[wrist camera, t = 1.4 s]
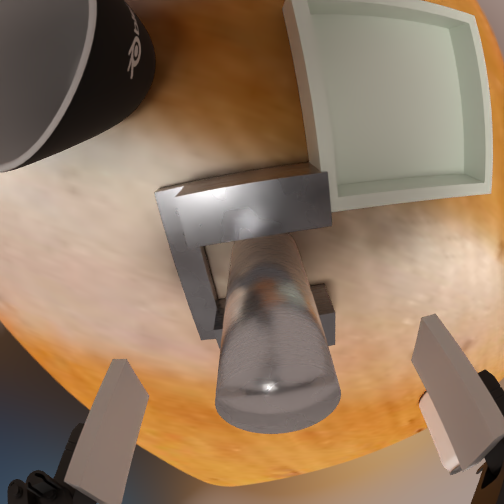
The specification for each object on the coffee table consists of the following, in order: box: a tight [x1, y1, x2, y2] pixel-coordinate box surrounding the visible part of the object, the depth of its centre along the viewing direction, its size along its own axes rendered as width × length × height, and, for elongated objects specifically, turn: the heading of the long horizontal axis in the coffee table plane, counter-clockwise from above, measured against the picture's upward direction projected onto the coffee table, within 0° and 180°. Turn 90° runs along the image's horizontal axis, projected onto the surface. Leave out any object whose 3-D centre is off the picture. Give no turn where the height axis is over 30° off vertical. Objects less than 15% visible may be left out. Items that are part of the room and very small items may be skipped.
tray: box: [282, 0, 493, 212], centre depth 14 cm, size 13×13×3 cm
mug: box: [0, 0, 156, 172], centre depth 9 cm, size 12×9×10 cm
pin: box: [215, 233, 341, 434], centre depth 15 cm, size 5×5×12 cm
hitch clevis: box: [155, 162, 335, 349], centre depth 19 cm, size 12×10×4 cm
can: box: [419, 391, 462, 475], centre depth 24 cm, size 6×6×12 cm
